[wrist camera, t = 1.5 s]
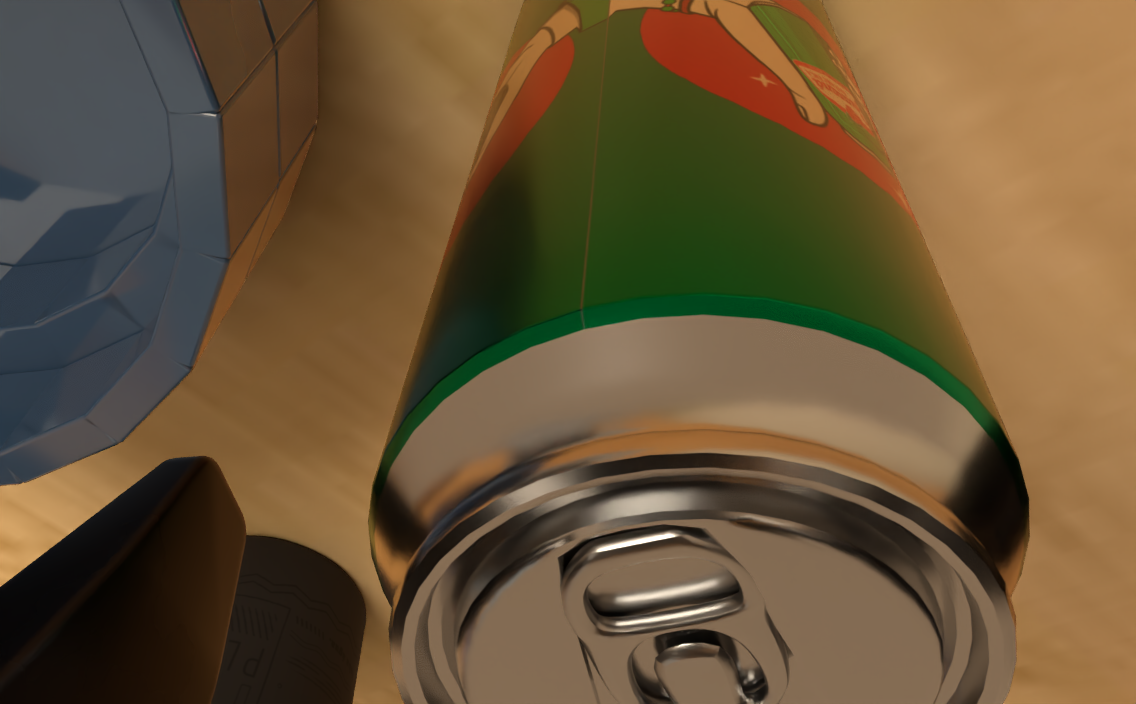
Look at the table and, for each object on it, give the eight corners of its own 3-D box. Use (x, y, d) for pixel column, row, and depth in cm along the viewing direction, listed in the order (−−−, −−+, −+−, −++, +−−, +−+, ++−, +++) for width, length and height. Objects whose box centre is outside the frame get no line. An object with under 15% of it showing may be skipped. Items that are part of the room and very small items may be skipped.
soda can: (575, 229, 19) (497, 898, 9) (466, -40, 16) (188, 509, 6) (852, 149, 17) (1104, 829, 8) (785, -158, 15) (1048, 305, 5)
